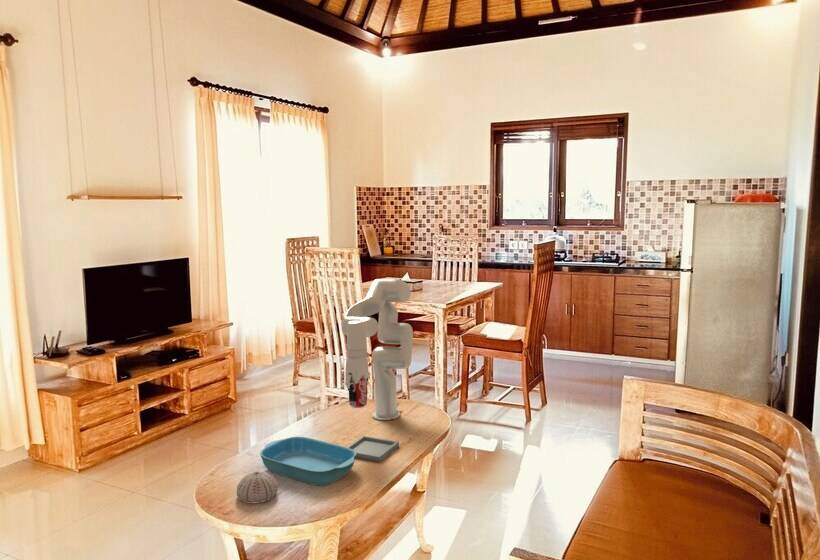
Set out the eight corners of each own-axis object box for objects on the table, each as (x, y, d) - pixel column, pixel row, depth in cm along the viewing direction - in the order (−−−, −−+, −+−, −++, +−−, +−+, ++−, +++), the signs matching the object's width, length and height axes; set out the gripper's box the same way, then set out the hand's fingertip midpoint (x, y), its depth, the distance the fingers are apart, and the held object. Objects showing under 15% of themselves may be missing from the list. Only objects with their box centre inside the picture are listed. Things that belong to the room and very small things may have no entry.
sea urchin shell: (270, 507, 186) (269, 483, 185) (228, 505, 188) (227, 481, 187) (284, 488, 199) (283, 465, 198) (245, 486, 201) (244, 463, 200)
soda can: (369, 403, 234) (368, 373, 232) (365, 409, 227) (364, 378, 225) (351, 402, 235) (350, 373, 233) (347, 408, 228) (346, 378, 226)
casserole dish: (369, 469, 213) (368, 450, 212) (329, 495, 194) (329, 474, 193) (291, 450, 232) (290, 432, 231) (248, 471, 213) (247, 452, 212)
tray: (363, 440, 239) (363, 435, 239) (399, 446, 233) (398, 441, 232) (342, 455, 225) (342, 450, 225) (379, 462, 218) (379, 457, 218)
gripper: (360, 347, 238) (361, 390, 240) (336, 357, 222) (337, 403, 224) (377, 349, 234) (378, 393, 236) (353, 359, 219) (354, 406, 221)
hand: (358, 397), depth 230 cm, fingers closed on soda can, 6 cm apart
